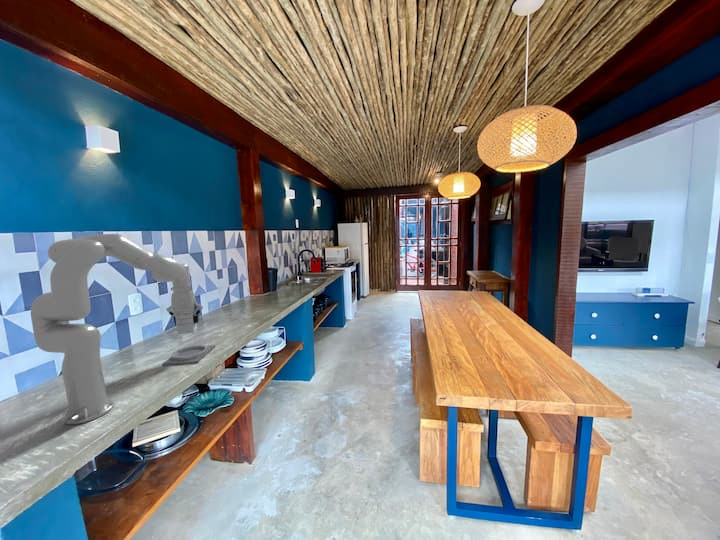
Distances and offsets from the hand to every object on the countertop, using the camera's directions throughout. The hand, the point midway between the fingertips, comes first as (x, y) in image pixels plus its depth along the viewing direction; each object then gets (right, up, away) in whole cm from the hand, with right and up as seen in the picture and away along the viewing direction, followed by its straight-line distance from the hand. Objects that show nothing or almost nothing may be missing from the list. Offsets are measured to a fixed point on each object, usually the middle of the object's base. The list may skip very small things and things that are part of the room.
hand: (186, 323), depth 142 cm
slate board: (+1, -17, +2) cm, 17 cm away
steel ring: (+1, -17, +2) cm, 17 cm away
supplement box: (0, -4, +1) cm, 4 cm away
